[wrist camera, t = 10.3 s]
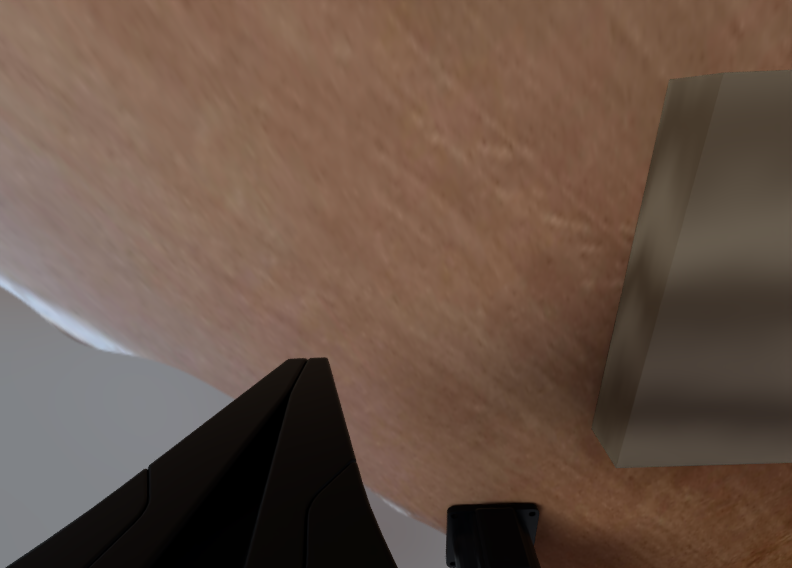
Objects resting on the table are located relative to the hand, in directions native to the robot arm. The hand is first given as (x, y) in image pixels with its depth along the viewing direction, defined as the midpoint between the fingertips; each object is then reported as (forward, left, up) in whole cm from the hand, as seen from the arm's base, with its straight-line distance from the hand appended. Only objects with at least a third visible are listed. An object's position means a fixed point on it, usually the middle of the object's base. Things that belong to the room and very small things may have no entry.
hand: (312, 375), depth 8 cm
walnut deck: (-4, -21, -12) cm, 25 cm away
